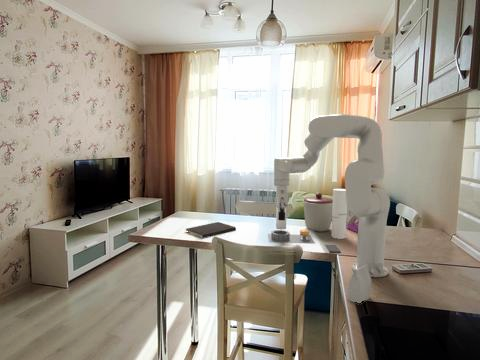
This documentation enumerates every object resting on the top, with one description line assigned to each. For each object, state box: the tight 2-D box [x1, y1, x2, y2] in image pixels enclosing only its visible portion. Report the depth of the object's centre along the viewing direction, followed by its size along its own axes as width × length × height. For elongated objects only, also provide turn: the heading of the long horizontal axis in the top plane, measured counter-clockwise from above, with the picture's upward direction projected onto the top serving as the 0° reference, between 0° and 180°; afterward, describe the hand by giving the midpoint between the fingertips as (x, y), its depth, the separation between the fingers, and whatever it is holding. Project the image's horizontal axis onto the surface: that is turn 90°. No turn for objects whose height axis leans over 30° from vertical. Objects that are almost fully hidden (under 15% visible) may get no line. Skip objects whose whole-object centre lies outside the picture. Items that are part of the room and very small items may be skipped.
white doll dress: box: [347, 265, 372, 304], centre depth 94 cm, size 4×7×10 cm, turn 130°
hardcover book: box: [185, 221, 237, 238], centre depth 169 cm, size 16×23×2 cm
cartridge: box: [275, 203, 288, 230], centre depth 151 cm, size 5×5×12 cm
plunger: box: [299, 229, 310, 240], centre depth 152 cm, size 4×4×4 cm
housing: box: [267, 229, 316, 244], centre depth 152 cm, size 14×22×4 cm, turn 87°
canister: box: [302, 192, 333, 232], centre depth 172 cm, size 18×18×21 cm
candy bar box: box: [346, 207, 360, 234], centre depth 171 cm, size 11×5×16 cm, turn 22°
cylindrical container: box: [330, 188, 347, 240], centre depth 158 cm, size 7×7×25 cm
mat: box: [324, 244, 342, 254], centre depth 140 cm, size 9×9×1 cm
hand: (281, 218), depth 151 cm, fingers closed on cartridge, 5 cm apart
